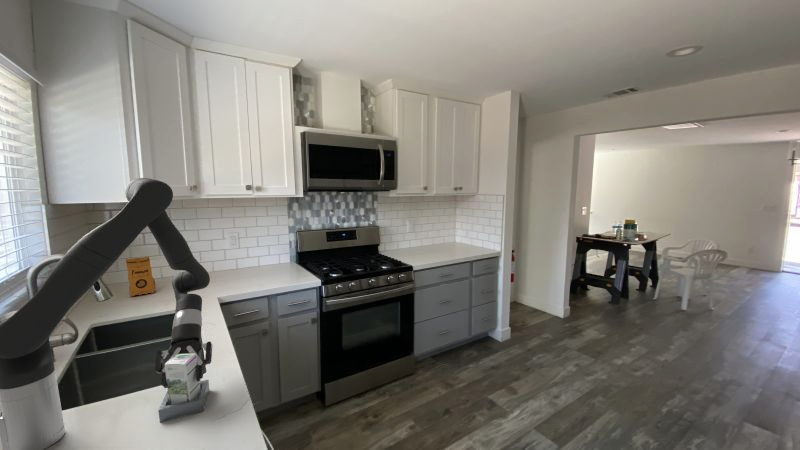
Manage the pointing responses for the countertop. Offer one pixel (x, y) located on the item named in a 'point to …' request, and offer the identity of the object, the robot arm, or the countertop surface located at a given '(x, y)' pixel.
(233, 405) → the countertop surface
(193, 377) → the syrup box
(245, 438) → the countertop surface
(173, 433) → the countertop surface
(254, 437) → the countertop surface
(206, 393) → the gray square tray
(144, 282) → the coffee package
